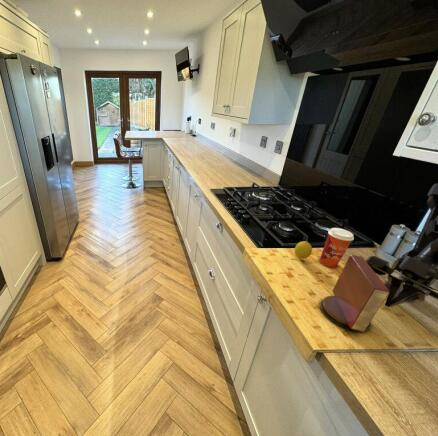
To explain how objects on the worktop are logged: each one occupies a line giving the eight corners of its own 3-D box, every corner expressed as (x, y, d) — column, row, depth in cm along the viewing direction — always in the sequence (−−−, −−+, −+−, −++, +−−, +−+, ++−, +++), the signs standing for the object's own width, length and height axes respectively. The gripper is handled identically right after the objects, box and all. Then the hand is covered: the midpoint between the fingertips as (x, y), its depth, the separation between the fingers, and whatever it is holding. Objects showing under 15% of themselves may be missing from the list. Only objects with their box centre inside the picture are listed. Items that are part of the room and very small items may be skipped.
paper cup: (320, 267, 89) (335, 235, 83) (313, 256, 96) (325, 225, 90) (344, 271, 88) (360, 238, 82) (334, 259, 94) (349, 228, 88)
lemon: (288, 256, 96) (294, 239, 92) (298, 253, 97) (304, 237, 94) (301, 263, 91) (307, 246, 87) (311, 261, 93) (318, 244, 89)
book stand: (356, 299, 73) (379, 260, 66) (381, 340, 60) (412, 296, 54) (316, 290, 76) (334, 251, 70) (331, 327, 64) (354, 284, 57)
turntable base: (335, 296, 76) (336, 294, 75) (378, 324, 66) (379, 322, 66) (311, 306, 72) (312, 303, 71) (353, 337, 62) (354, 335, 62)
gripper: (385, 229, 63) (343, 271, 64) (496, 272, 48) (439, 326, 49) (387, 248, 69) (349, 286, 70) (486, 291, 54) (435, 339, 55)
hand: (386, 306), depth 61 cm, fingers closed
